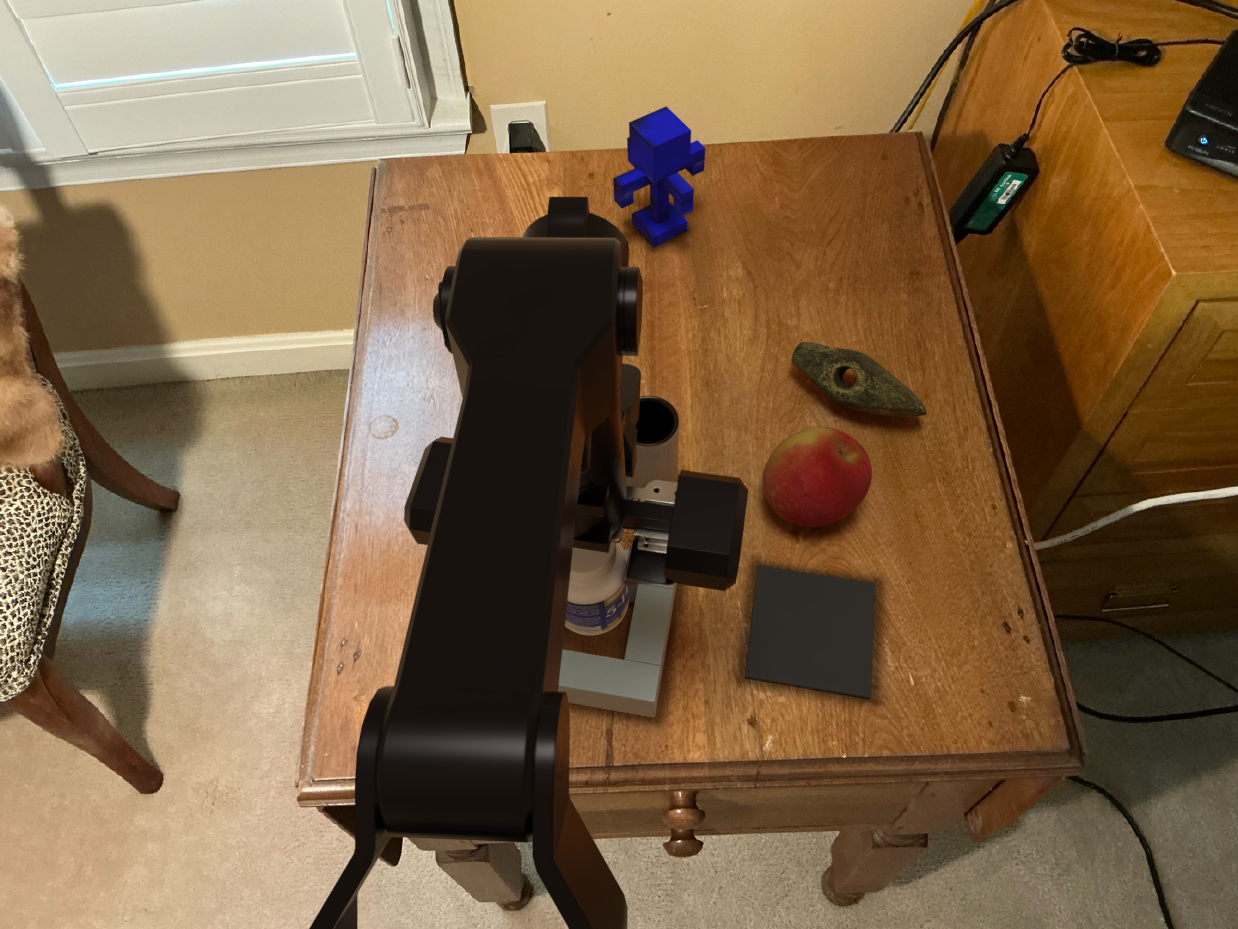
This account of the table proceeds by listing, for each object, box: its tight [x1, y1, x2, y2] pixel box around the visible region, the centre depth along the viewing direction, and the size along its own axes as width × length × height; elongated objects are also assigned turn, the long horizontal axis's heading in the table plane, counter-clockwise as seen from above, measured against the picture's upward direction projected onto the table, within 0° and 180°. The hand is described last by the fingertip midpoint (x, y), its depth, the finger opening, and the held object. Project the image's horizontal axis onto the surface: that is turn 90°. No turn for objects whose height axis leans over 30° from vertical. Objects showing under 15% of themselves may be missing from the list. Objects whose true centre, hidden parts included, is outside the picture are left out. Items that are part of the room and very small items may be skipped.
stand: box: [558, 548, 678, 719], centre depth 65 cm, size 11×11×4 cm
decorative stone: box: [790, 341, 928, 418], centre depth 75 cm, size 11×8×5 cm
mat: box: [744, 565, 876, 700], centre depth 66 cm, size 9×9×1 cm
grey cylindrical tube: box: [626, 395, 680, 488], centre depth 69 cm, size 4×4×10 cm
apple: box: [762, 426, 873, 528], centre depth 68 cm, size 8×8×8 cm
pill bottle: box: [565, 542, 630, 636], centre depth 57 cm, size 5×5×9 cm
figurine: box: [612, 106, 706, 248], centre depth 83 cm, size 8×8×12 cm
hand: (587, 571), depth 57 cm, fingers closed on pill bottle, 5 cm apart
